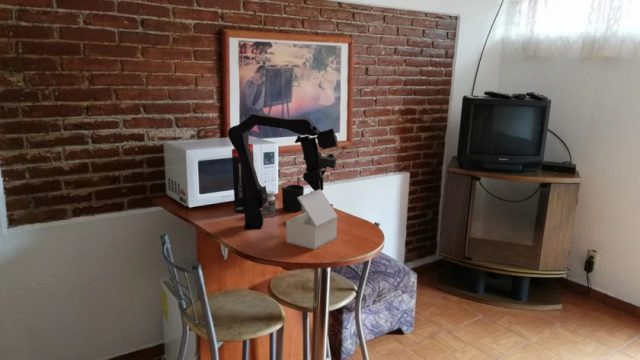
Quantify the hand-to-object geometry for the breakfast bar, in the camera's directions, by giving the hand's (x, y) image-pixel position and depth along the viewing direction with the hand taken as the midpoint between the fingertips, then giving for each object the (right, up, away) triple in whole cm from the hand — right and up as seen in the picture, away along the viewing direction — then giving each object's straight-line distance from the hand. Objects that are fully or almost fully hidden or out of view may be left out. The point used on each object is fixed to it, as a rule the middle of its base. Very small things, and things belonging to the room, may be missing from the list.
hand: (320, 192), depth 178 cm
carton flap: (-1, -5, -12) cm, 13 cm away
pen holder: (-12, -8, +30) cm, 33 cm away
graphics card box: (-33, -8, +32) cm, 46 cm away
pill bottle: (-22, -10, +22) cm, 32 cm away
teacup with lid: (-2, -11, +18) cm, 21 cm away
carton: (-3, -17, -8) cm, 19 cm away
